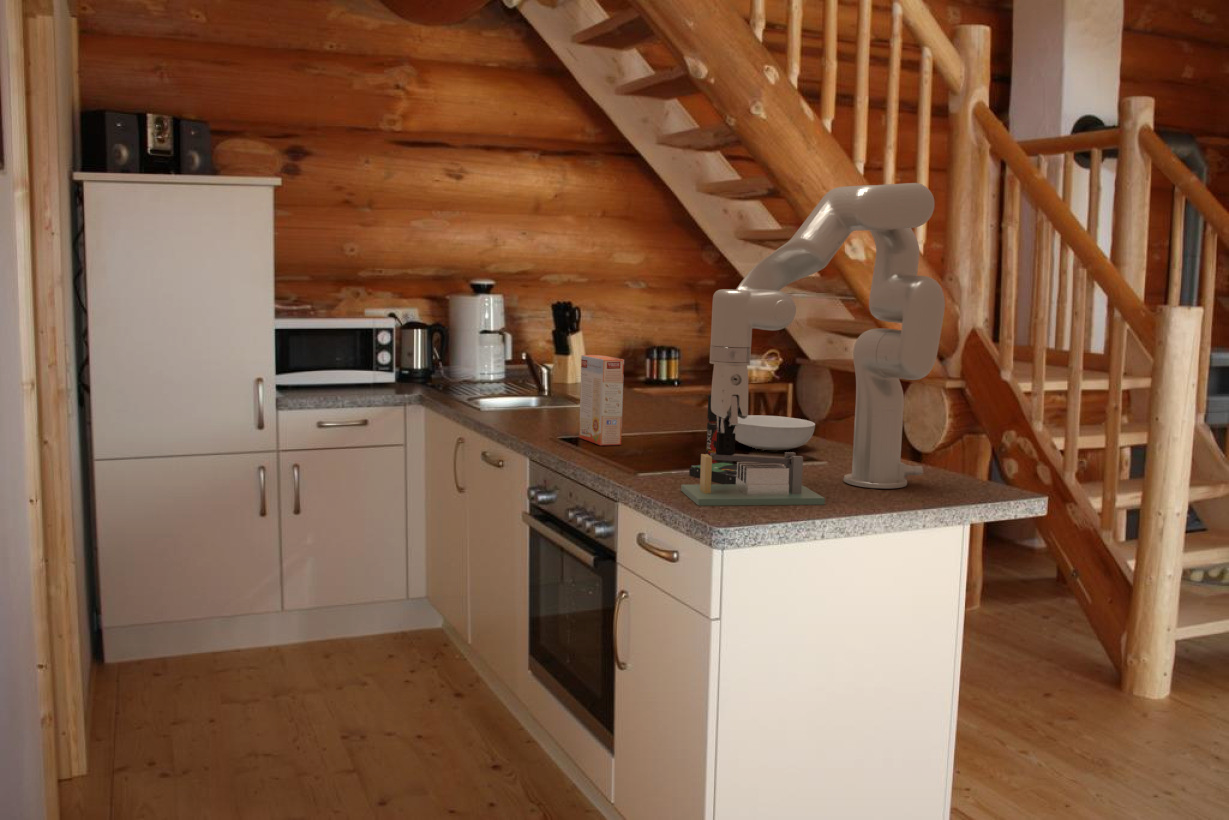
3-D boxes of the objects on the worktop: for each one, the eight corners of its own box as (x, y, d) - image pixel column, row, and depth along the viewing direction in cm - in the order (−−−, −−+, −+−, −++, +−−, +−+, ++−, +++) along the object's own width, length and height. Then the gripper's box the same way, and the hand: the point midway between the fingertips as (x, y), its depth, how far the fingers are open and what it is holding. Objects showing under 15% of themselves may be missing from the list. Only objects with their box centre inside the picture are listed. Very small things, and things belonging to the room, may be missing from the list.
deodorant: (737, 462, 260) (740, 395, 258) (721, 465, 256) (724, 397, 254) (716, 459, 264) (719, 393, 262) (700, 462, 260) (702, 394, 258)
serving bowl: (804, 458, 269) (806, 428, 268) (716, 451, 276) (718, 422, 275) (821, 446, 289) (822, 418, 288) (738, 439, 296) (739, 412, 295)
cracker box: (622, 445, 280) (625, 358, 278) (599, 446, 278) (601, 358, 275) (600, 437, 293) (602, 353, 290) (578, 438, 291) (580, 354, 288)
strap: (795, 464, 223) (796, 455, 223) (799, 467, 221) (800, 457, 220) (709, 459, 220) (710, 450, 220) (713, 461, 218) (714, 452, 217)
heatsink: (775, 487, 226) (776, 461, 225) (788, 495, 218) (789, 468, 217) (735, 487, 224) (736, 461, 224) (747, 495, 217) (748, 468, 216)
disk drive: (773, 486, 237) (725, 473, 249) (774, 472, 237) (725, 460, 248) (735, 490, 231) (687, 477, 243) (736, 476, 231) (688, 464, 242)
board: (800, 489, 230) (802, 448, 229) (824, 504, 216) (826, 460, 215) (681, 490, 226) (682, 448, 225) (698, 505, 212) (699, 461, 211)
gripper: (761, 360, 210) (755, 461, 212) (738, 354, 225) (733, 448, 227) (720, 358, 209) (715, 460, 211) (700, 352, 223) (696, 447, 226)
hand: (725, 453), depth 219 cm, fingers closed
